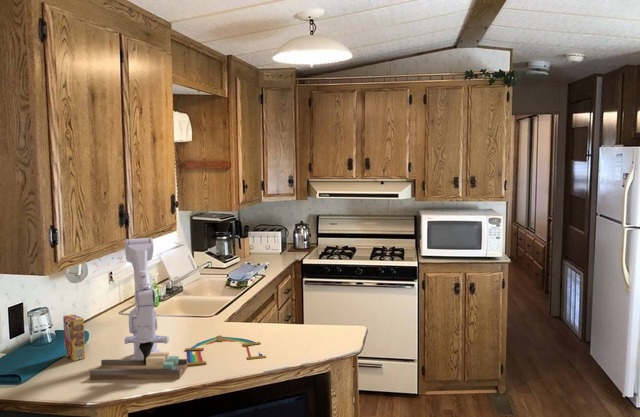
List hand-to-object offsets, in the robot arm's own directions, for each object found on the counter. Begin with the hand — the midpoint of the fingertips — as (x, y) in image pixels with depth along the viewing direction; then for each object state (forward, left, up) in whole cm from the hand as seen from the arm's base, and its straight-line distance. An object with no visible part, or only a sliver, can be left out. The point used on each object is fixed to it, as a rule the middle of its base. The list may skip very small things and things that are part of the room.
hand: (147, 363), depth 184 cm
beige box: (0, +4, -2) cm, 4 cm away
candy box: (-16, -33, -4) cm, 37 cm away
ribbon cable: (-24, +21, -4) cm, 32 cm away
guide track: (0, -3, -3) cm, 4 cm away
